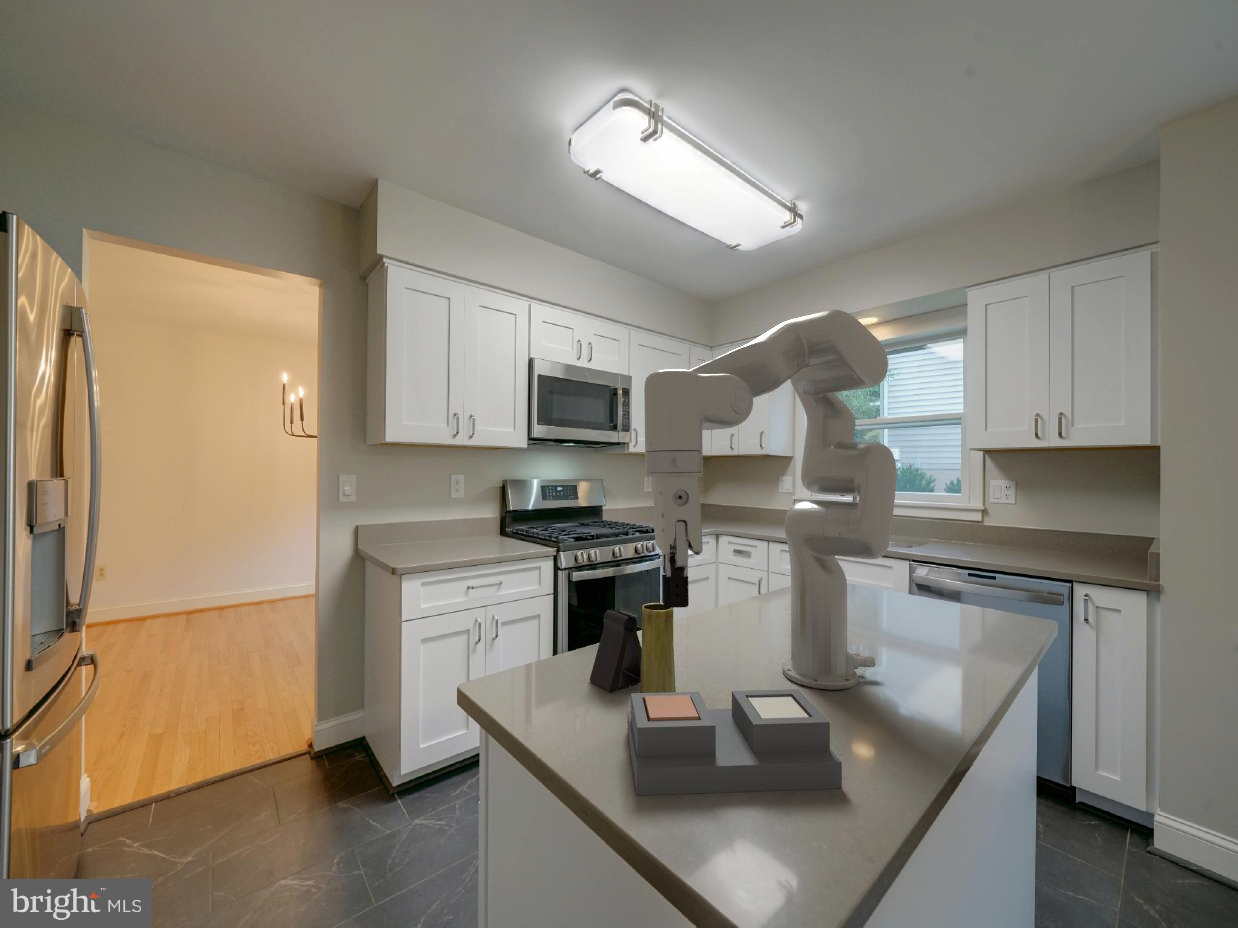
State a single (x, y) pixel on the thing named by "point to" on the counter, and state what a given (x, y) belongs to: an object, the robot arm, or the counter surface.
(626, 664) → the phone stand
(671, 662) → the vase
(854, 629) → the counter surface
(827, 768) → the button panel
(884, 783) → the counter surface
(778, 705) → the ivory button
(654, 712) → the terracotta button
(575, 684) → the counter surface
